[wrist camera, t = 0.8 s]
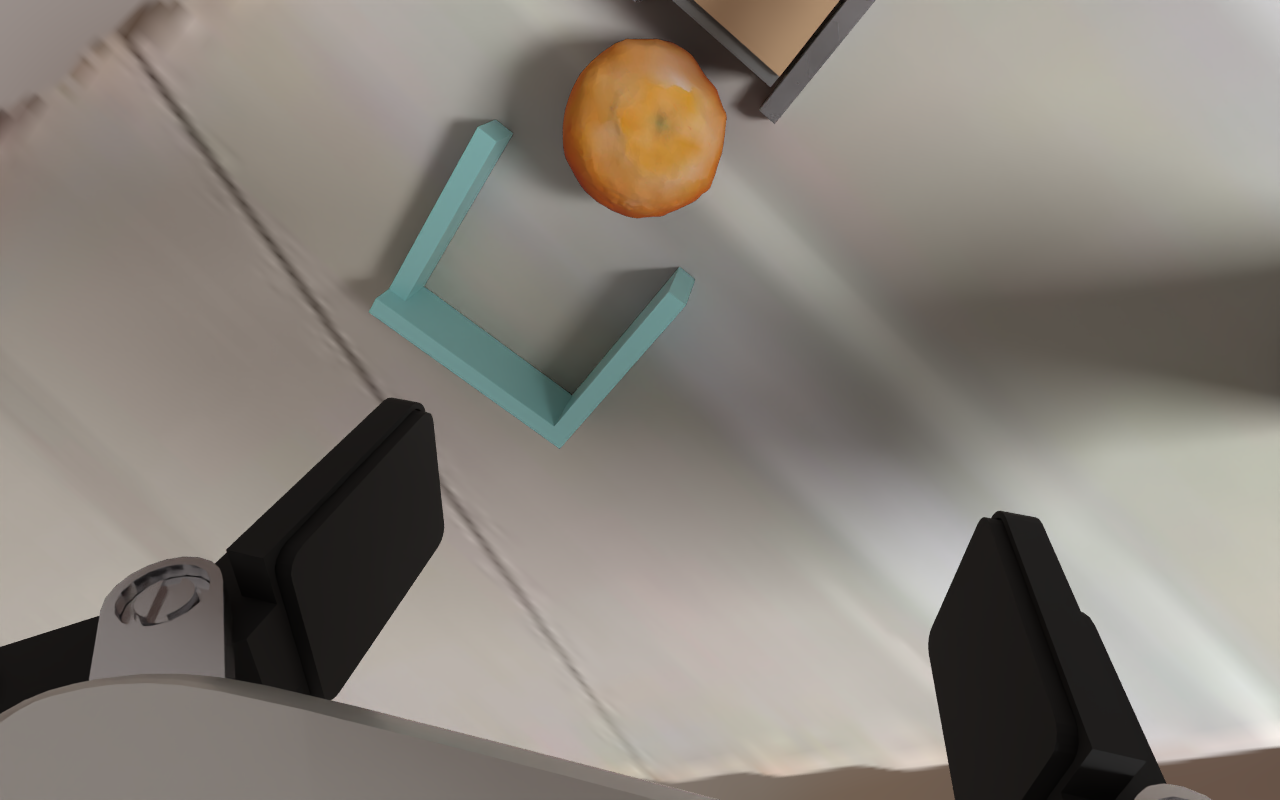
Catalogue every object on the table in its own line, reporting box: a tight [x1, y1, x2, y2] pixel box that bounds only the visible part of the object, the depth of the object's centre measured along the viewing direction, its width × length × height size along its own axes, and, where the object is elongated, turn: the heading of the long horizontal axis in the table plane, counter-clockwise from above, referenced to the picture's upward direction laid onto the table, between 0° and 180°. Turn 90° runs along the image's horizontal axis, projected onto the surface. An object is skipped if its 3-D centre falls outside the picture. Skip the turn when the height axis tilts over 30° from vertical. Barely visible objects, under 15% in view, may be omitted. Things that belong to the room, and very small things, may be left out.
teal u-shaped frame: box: [369, 120, 695, 449], centre depth 41 cm, size 14×13×4 cm
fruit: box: [563, 39, 727, 218], centre depth 34 cm, size 8×8×8 cm
